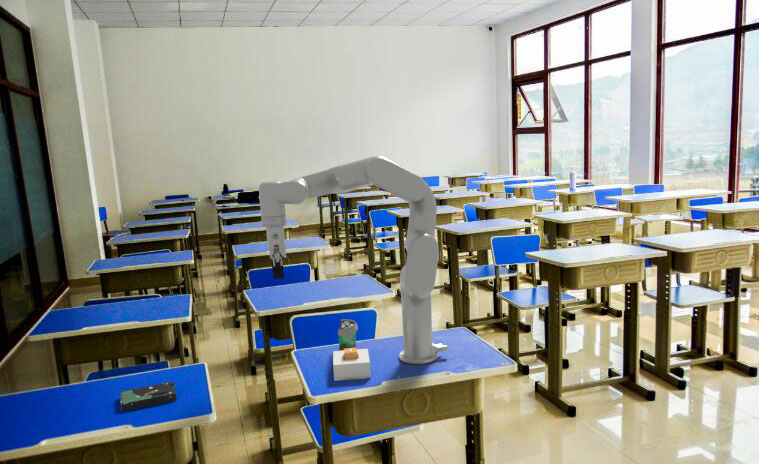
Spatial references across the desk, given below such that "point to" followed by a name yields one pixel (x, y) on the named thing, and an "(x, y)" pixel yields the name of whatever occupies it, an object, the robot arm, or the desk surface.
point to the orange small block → (350, 353)
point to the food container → (347, 334)
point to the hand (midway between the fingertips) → (278, 275)
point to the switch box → (351, 366)
